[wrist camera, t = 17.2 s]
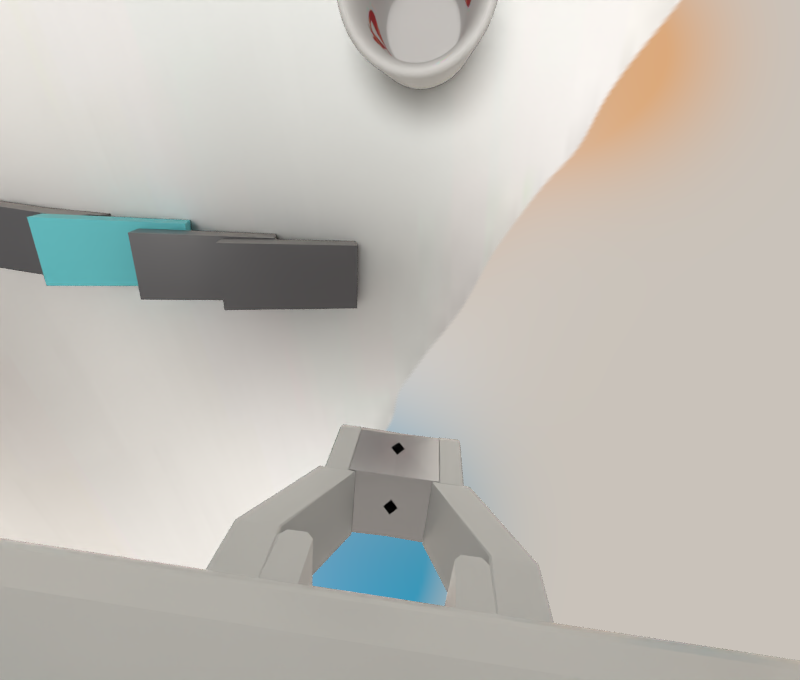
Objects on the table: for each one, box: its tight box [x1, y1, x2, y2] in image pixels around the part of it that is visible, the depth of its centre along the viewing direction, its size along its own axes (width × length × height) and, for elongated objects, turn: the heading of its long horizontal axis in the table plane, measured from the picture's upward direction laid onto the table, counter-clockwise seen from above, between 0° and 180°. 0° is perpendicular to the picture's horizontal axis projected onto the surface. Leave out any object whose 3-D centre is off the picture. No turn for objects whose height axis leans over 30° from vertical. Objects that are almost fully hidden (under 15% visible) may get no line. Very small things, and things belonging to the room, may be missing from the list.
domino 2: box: [128, 228, 276, 300], centre depth 31 cm, size 2×5×10 cm
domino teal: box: [27, 213, 191, 286], centre depth 31 cm, size 2×5×10 cm
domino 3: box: [216, 238, 358, 310], centre depth 30 cm, size 2×5×10 cm
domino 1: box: [0, 201, 89, 275], centre depth 32 cm, size 2×5×10 cm
